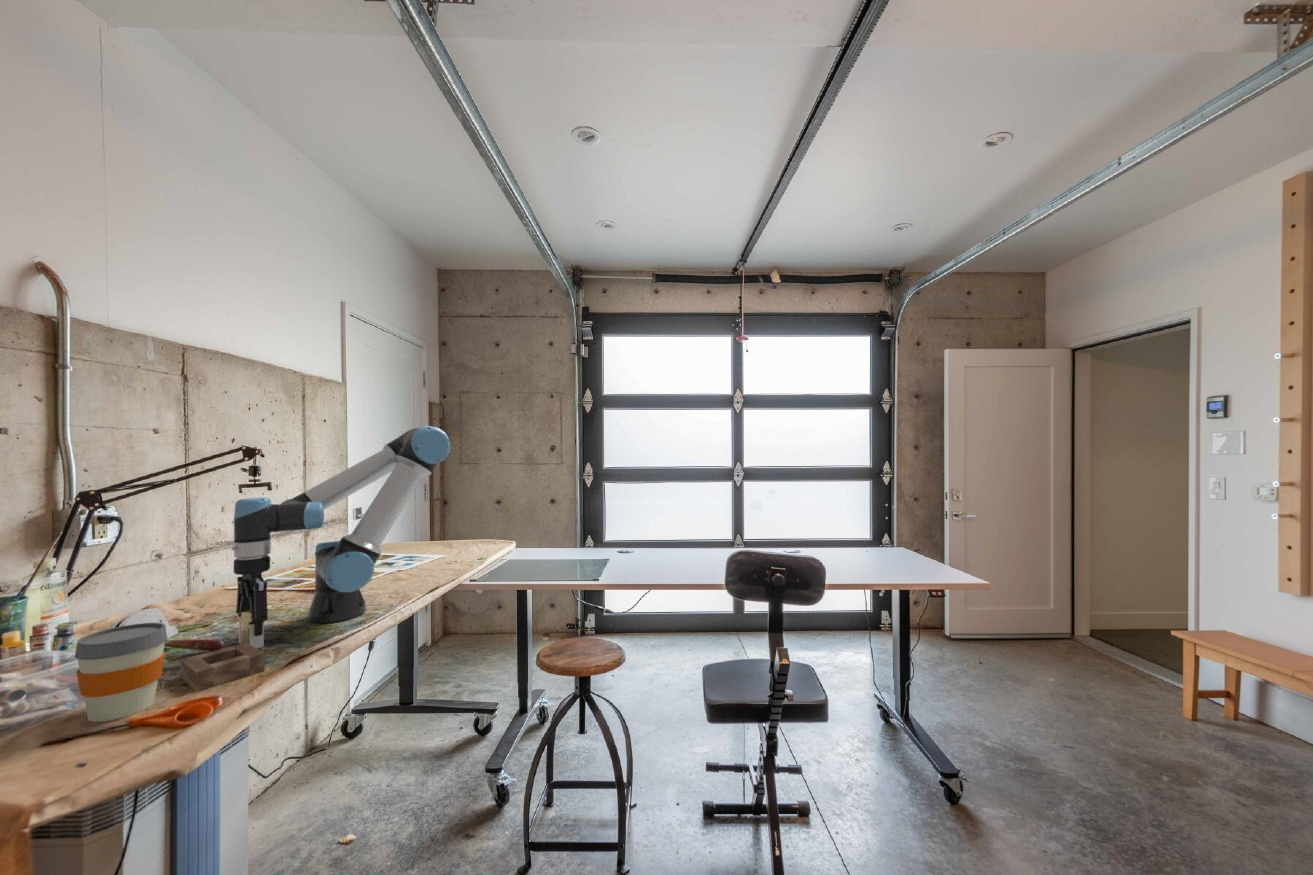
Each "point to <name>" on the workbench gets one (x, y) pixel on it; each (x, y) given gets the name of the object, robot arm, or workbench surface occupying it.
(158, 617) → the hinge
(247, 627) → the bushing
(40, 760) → the workbench surface
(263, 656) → the frame
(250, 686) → the workbench surface
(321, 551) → the robot arm
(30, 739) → the workbench surface
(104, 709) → the reusable coffee cup
